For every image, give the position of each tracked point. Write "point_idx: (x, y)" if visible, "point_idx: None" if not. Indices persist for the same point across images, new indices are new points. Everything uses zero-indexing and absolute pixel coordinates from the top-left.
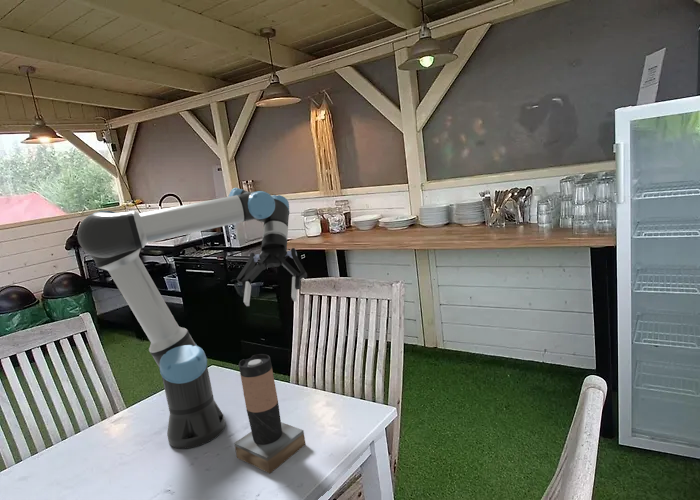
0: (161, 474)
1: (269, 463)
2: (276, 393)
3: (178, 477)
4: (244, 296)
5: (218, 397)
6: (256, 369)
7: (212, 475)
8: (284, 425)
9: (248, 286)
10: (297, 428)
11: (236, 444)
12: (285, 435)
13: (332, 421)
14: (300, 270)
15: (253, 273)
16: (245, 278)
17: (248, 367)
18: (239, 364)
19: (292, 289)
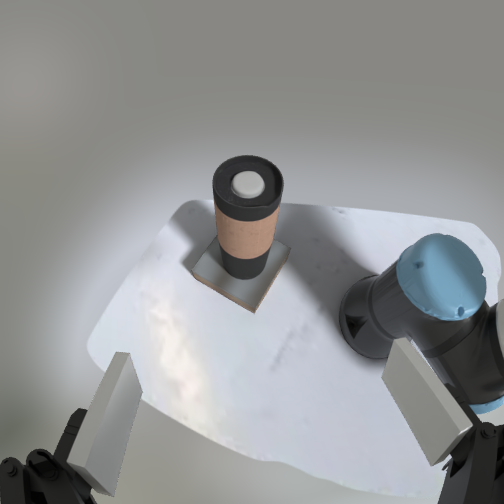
0: (366, 235)
1: None
2: (217, 231)
3: (343, 229)
4: (418, 355)
5: (393, 416)
6: (234, 161)
7: (303, 229)
8: (225, 284)
9: (439, 417)
10: (201, 275)
11: (286, 246)
12: (217, 259)
13: (162, 332)
14: (21, 487)
15: (461, 499)
16: (487, 443)
17: (249, 155)
18: (278, 170)
19: (110, 386)
